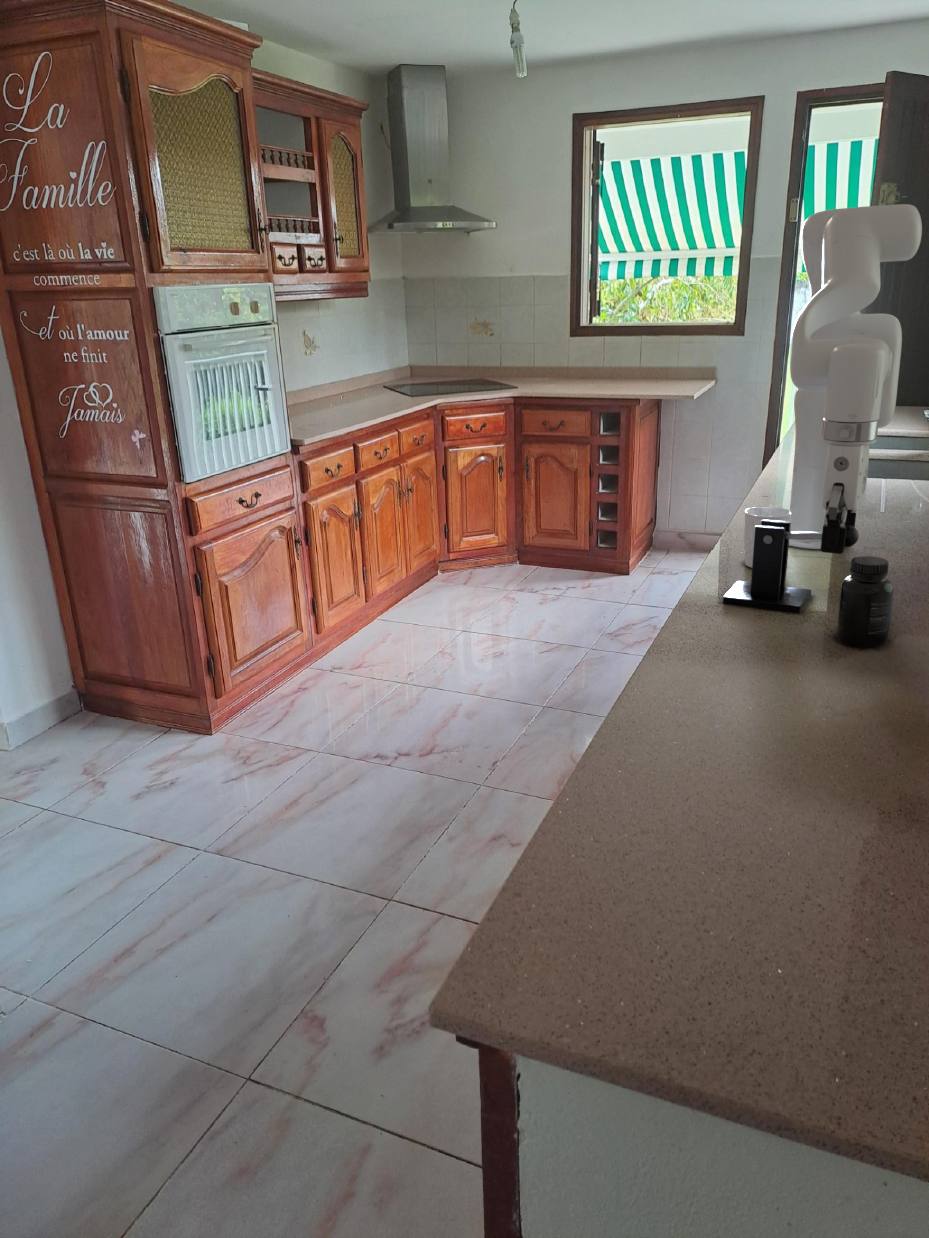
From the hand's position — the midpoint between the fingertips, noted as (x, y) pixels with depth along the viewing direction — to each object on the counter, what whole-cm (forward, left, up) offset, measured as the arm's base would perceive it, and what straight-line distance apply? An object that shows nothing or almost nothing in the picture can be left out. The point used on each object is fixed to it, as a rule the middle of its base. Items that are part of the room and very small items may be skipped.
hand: (837, 544), depth 136 cm
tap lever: (0, -4, -1) cm, 4 cm away
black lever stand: (0, -10, -10) cm, 14 cm away
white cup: (-19, -15, -11) cm, 26 cm away
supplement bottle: (+12, +6, -11) cm, 17 cm away
